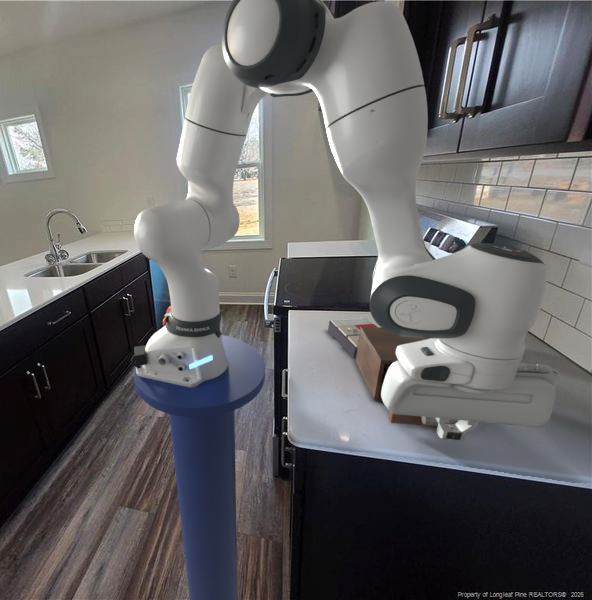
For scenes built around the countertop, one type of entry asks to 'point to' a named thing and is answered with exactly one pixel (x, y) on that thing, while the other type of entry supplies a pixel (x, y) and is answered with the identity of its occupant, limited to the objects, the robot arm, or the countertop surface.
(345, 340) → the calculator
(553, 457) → the countertop surface
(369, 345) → the cabinet
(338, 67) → the robot arm
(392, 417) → the drawer
